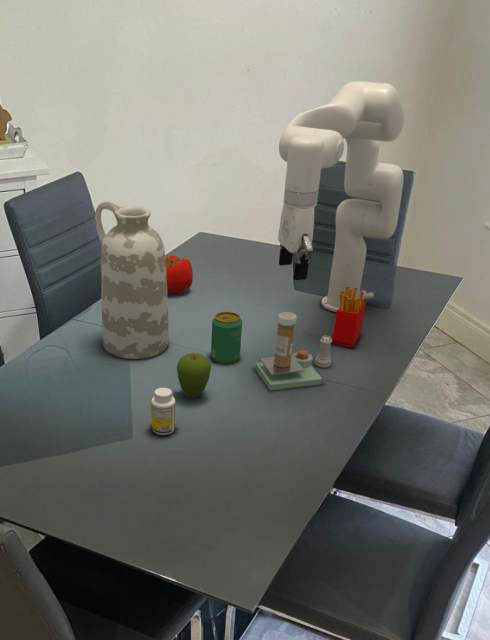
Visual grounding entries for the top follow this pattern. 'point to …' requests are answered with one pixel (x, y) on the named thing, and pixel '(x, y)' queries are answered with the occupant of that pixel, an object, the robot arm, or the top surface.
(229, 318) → the beverage can
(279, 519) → the top surface
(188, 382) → the apple
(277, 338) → the sprinkles bottle
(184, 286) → the tomato
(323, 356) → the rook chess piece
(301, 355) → the tare button
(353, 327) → the french fries container
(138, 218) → the vase
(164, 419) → the supplement bottle
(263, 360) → the scale pan
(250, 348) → the top surface
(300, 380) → the scale
